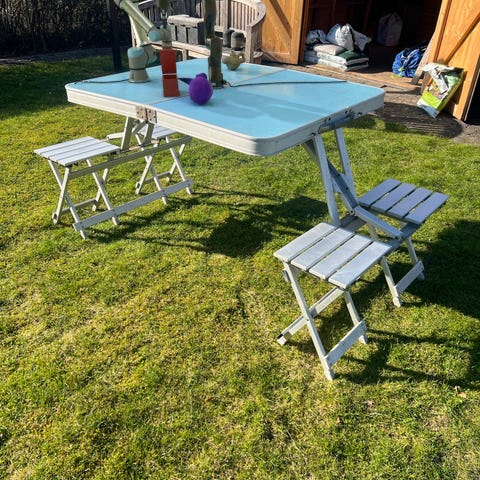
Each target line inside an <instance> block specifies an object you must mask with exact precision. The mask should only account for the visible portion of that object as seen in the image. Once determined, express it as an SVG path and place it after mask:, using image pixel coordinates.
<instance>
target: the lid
mask: <svg viewBox="0 0 480 480" xmlns="http://www.w3.org/2000/svg"><path fill="white" fill-rule="evenodd" d="M172 47H173V45H172V46H162V45H161V49H159V50H160V55H159V60H160V68H161V75H167V74H177V75H178V70H177V55H176V54H175V49H176V48H173V49H172ZM163 49H166V50H163Z"/></svg>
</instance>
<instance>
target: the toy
mask: <svg viewBox="0 0 480 480" xmlns="http://www.w3.org/2000/svg"><path fill="white" fill-rule="evenodd" d="M178 81H181V82H182V83H184V84H186V85H188V96H189V98H190V100H191V101H192V102H193V103H195V104H198V105H205V104H207V103H208V102H209V101H210V100H211V99H212V97H213V94H214V89H213V88H212V84H211V83H210V81H209V79H208V74H206V73H205V72H201V73H197V74H196V75H195V77H193V78H192V77H178Z"/></svg>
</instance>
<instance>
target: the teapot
mask: <svg viewBox="0 0 480 480" xmlns="http://www.w3.org/2000/svg"><path fill="white" fill-rule="evenodd" d="M240 57H241V59H240ZM245 61H246V56H245V53H244V52H243V51H240V52H238V53H237V54H236V52H235V50H233V49H232V50H231V51H230V53H229V56H224V57H222V58H221V64H223V65H225V66H226V68H227V69H228V70H230V71H234V70H237V69H238V68H239V67H240V66H241V64H244V63H245Z"/></svg>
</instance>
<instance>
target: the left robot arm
mask: <svg viewBox="0 0 480 480" xmlns="http://www.w3.org/2000/svg"><path fill="white" fill-rule="evenodd" d="M113 2H114V3H115V4H116V5H117V6H118V7H119V9H122V10H123V11H125V13H127V15H128V18H129V22H130V24H131V28H132V31H133V35H134V37H135V41H136V43H137V44H136V46H132V47H129V48H128V49H127V57H128V66H129V76H128V78H125V79H121V80H120V79H119V80H108V81H97V80H95V81H93V80H85V81H84V80H76V81H75V82H74V83H73V85H76V84H78V83H87V84H88V83H90V84H91V83H93V84H111V83H121V82H127V81H128V82H129V83H133V84H141V83H148V82H150V76H149V74H148V71H147V67H146V65H148V64H152V63H154V62H155V61H157V58H160V50H161V49H156V47H154V46H153V45H152V43H158V42H161V47H162V46H172V49H175V55H176V58H177V57H179V56H180V55H181V56H183V50H180V49H177V48H173V38H172V28H171V26H170V25H169V24H167V29H164V28H163V24H162V25H160V26H159V28H157V26H156V25H154V24H153V22H151V21H150V19H149V18H147V16H146V15H145V14H144V13H143V12H142V11H141V10H140V9H139V5H140V2H139V0H113ZM163 50H166V49H163ZM83 81H84V82H83ZM88 81H89V82H88Z"/></svg>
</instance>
